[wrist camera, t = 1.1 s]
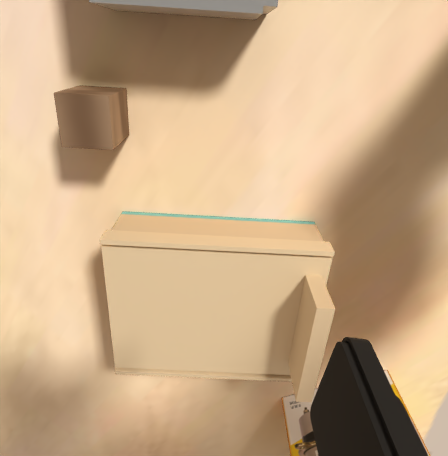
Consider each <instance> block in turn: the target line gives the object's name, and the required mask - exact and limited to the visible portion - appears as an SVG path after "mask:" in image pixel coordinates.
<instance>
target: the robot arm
mask: <svg viewBox="0 0 448 456" xmlns="http://www.w3.org/2000/svg"><path fill="white" fill-rule="evenodd" d="M310 419H311V424H312V429H313V433H314V438H315V442H316V447H317V451H318V456H428V454H427V452H426V450H425V448H424V446H423V444H422V442H421V440H420V437H419V435H418V433H417V431H416V429H415V427H414V425H413V423H412V421H411V419H410V417H409V415H408V413H407V411H406V409H405V407H404V405H403V403H402V402H401V400H400V399H399V398H398V397H397V396H396V395H395V393H394V391H393V389H392V387H391V385H390V383H389V381H388V379H387V377H386V374H385V372H384V370H383V368H382V366H381V364H380V362H379V360H378V358H377V356H376V354H375V352H374V349H373V347H372V345H371V344H370V342H369V341H368V340H365V339H357V338H349V337H345V338H344V339H343V341H342V342H337V343H336V345H335V348H334V350H333V353H332V355H331V358H330V360H329V363H328V365H327V368H326V370H325V373H324V375H323V378H322V380H321V382H320V385H319V387H318V390H317V392H316V395H315V397H314V400H313V402H312V405H311V409H310Z"/></svg>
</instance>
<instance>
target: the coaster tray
mask: <svg viewBox="0 0 448 456" xmlns="http://www.w3.org/2000/svg"><path fill="white" fill-rule="evenodd" d="M89 2H91V3H94V4H97V5H100V6H103V7H107V8H110V9H113V10H117V11H132V12H147V13H162V14H176V15H191V16H206V17H221V18H236V19H251V20H256V19H257V18H258V17H260V16H261V15H262V14H268V13H269V12H271V11H272V10H274V9H275V8H276V7H277V5H278V0H89Z"/></svg>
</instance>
